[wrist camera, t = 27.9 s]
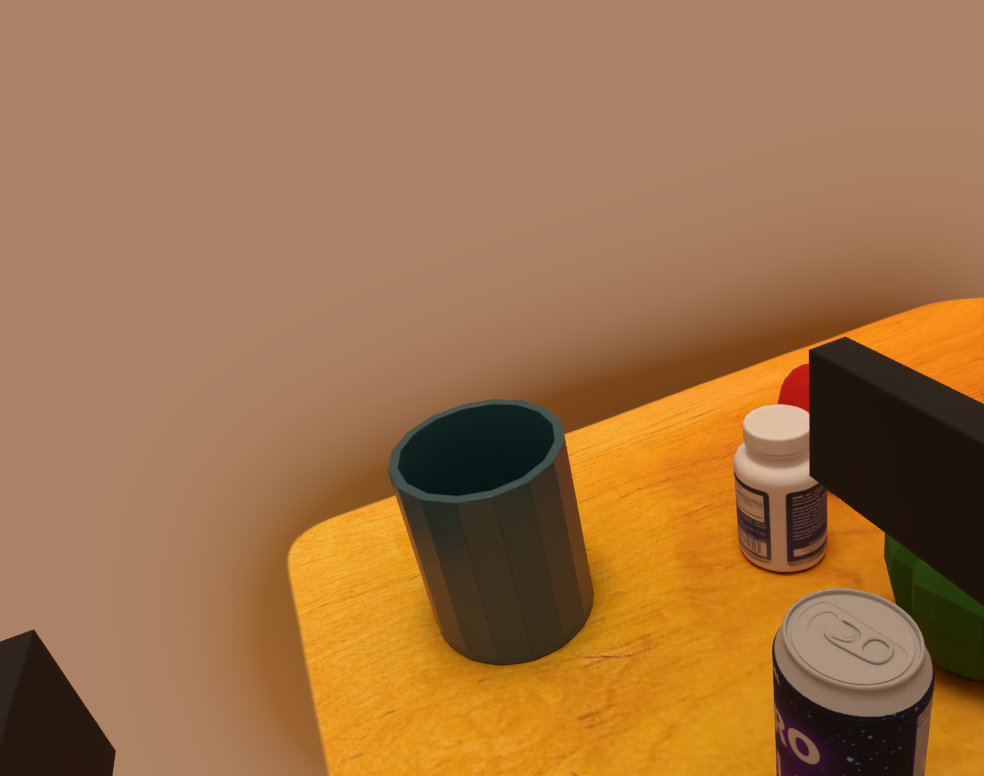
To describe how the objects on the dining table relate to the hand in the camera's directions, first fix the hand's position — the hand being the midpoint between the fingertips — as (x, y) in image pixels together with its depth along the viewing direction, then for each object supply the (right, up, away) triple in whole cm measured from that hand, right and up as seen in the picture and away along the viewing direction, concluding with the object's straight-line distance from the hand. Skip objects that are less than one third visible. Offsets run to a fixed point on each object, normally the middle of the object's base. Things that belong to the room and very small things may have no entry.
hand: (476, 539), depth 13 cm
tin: (+2, -12, +38) cm, 40 cm away
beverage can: (+16, -17, +22) cm, 32 cm away
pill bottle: (+19, -8, +38) cm, 43 cm away
